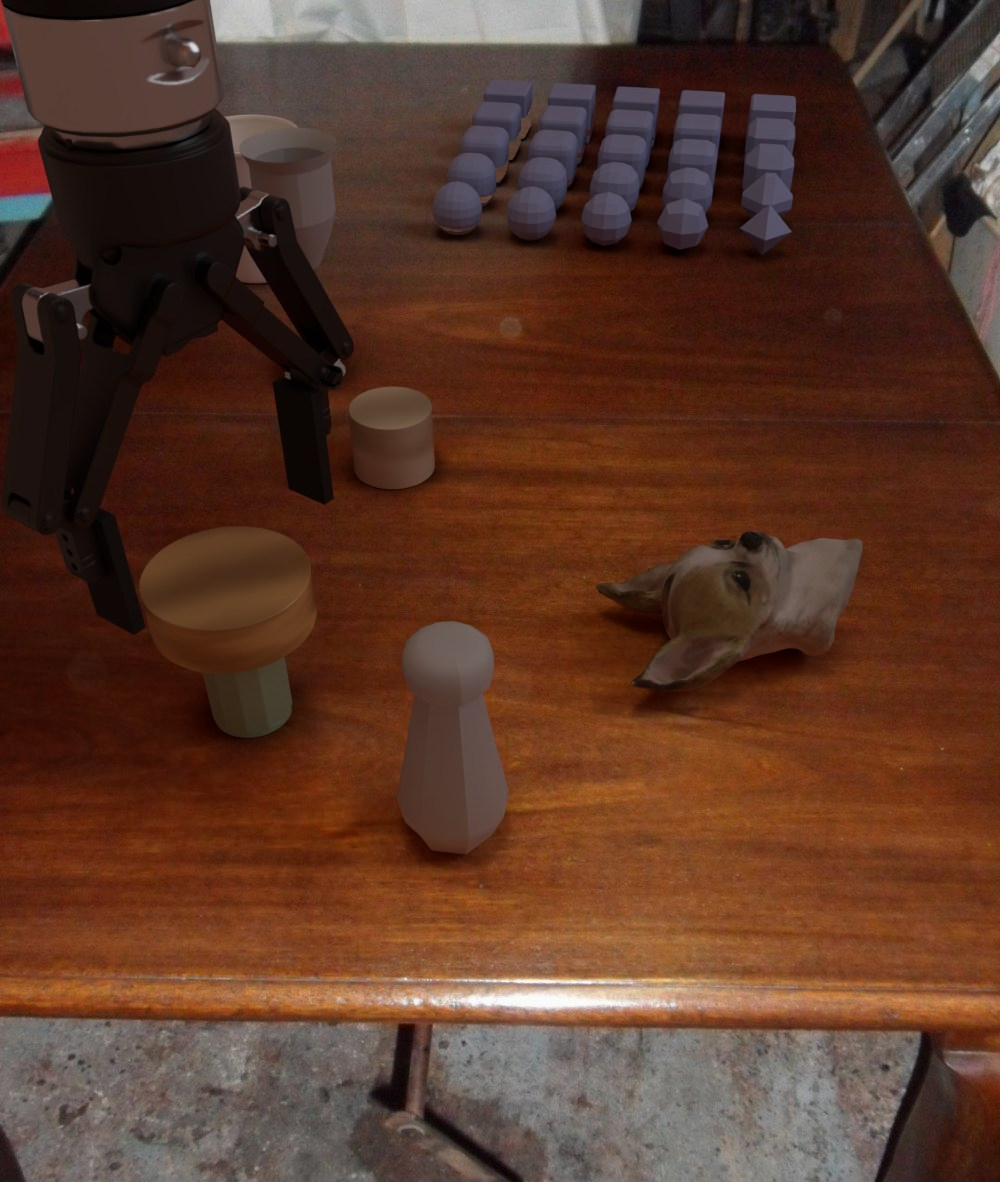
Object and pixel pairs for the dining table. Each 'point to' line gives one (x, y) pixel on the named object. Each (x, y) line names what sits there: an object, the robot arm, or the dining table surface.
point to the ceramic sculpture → (739, 604)
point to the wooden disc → (229, 599)
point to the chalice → (297, 183)
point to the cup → (250, 700)
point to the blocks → (620, 163)
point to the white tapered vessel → (241, 131)
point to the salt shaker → (450, 740)
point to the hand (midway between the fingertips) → (222, 554)
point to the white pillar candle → (392, 437)
